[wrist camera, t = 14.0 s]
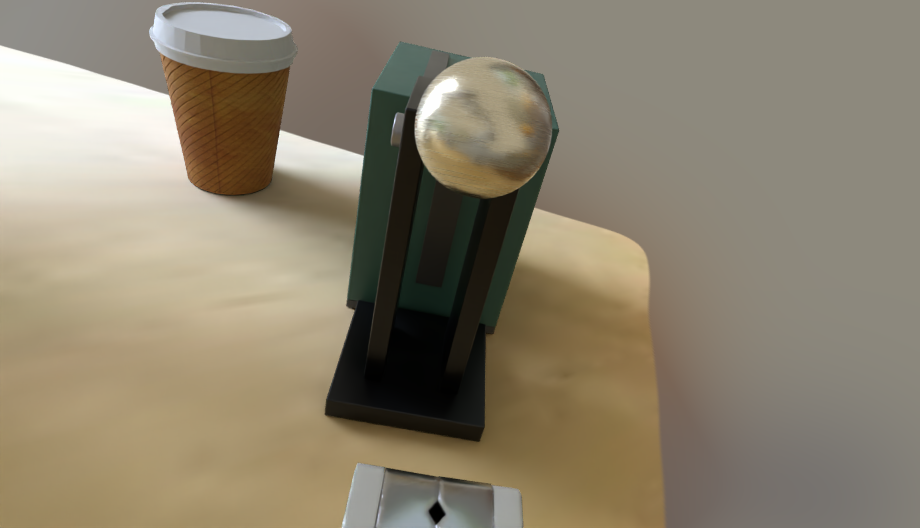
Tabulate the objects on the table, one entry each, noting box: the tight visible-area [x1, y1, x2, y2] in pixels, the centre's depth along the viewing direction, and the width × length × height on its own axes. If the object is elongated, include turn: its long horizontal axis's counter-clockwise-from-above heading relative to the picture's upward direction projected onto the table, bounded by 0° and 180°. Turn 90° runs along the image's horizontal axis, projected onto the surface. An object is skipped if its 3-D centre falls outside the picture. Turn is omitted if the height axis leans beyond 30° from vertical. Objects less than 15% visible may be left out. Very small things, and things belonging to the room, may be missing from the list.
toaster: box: [346, 42, 559, 334], centre depth 35 cm, size 10×10×14 cm
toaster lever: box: [415, 57, 552, 199], centre depth 19 cm, size 13×3×3 cm, turn 177°
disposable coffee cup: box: [149, 2, 298, 195], centre depth 41 cm, size 10×10×12 cm
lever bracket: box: [325, 76, 519, 442], centre depth 27 cm, size 8×8×16 cm
